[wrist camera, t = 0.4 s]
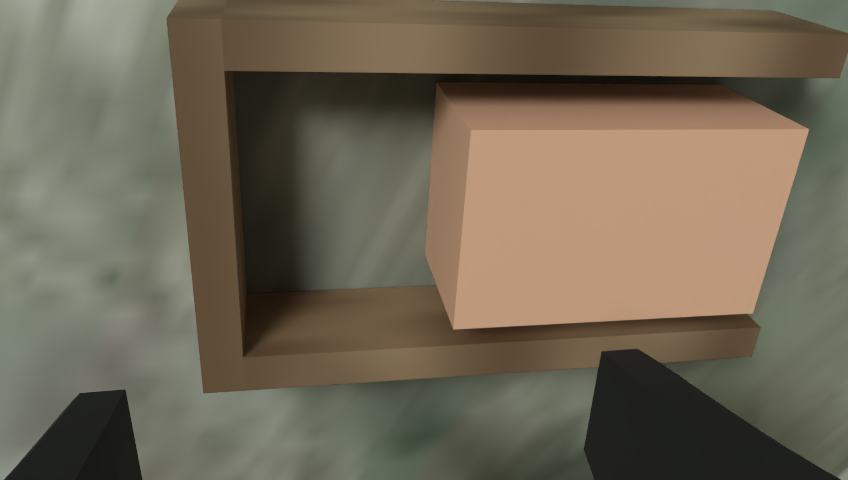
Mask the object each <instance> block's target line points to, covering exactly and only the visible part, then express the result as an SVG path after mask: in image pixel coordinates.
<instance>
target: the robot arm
mask: <svg viewBox="0 0 848 480" xmlns="http://www.w3.org/2000/svg"><path fill="white" fill-rule="evenodd" d="M584 451H585V454H586V457H587V460H588V462H589V465H590V468H591V471H592V474H593V477H594V480H840V479H839V478H837V477H835V476H833V475H832V474H830V473H828V472H826V471H825V470H823V469H821V468H820V467H818V466H816V465H815V464H813V463H811V462H810V461H808V460H806V459H805V458H803V457H801V456H800V455H798V454H796V453H795V452H793V451H791V450H790V449H788V448H786V447H785V446H783V445H781V444H780V443H778V442H777V441H775V440H774V439H772V438H771V437H769V436H767V435H766V434H764V433H763V432H761V431H760V430H758V429H757V428H755V427H753V426H752V425H750V424H749V423H747V422H746V421H744V420H743V419H741V418H740V417H738V416H737V415H735V414H734V413H732V412H731V411H729V410H728V409H726V408H725V407H724V406H722V405H721V404H719V403H718V402H716V401H715V400H713V399H712V398H710V397H709V396H707V395H706V394H705V393H703V392H702V391H700V390H699V389H697V388H696V387H694V386H693V385H692V384H690V383H689V382H687V381H686V380H684V379H683V378H681V377H680V376H679V375H677V374H676V373H674V372H673V371H671V370H670V369H668V368H667V367H665V366H664V365H662V364H661V363H659V362H658V361H656V360H655V359H653V358H652V357H650V356H649V355H647V354H645V353H644V352H642V351H641V350H639V349H625V350H613V351H601V357H600V362H599V368H598V374H597V379H596V385H595V390H594V396H593V402H592V407H591V413H590V418H589V424H588V430H587V435H586V441H585V446H584ZM4 480H142V476H141V470H140V465H139V460H138V454H137V449H136V444H135V438H134V433H133V428H132V422H131V417H130V412H129V406H128V401H127V396H126V390H114V391H102V392H89V393H80V394H79V395H78V396H77V397H76V398H75V399H74V400H73V401H72V402H71V403H70V404H69V405H68V407H67V408H66V409H65V410H64V411H63V412H62V414H61V415H60V416H59V417H58V418H57V419H56V421H55V422H54V423H53V424H52V425H51V427H50V428H49V429H48V430H47V431H46V432H45V434H44V435H43V436H42V437H41V438H40V439H39V441H38V442H37V443H36V444H35V445H34V446H33V448H32V449H31V450H30V451H29V452H28V453H27V454H26V456H25V457H24V458H23V459H22V460H21V461H20V463H19V464H18V465H17V466H16V467H15V468H14V469H13V470H12V472H11V473H10V474H9V475H8V476H7V477H6V478H5V479H4Z"/></svg>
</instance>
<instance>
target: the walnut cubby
mask: <svg viewBox="0 0 848 480" xmlns="http://www.w3.org/2000/svg"><path fill="white" fill-rule="evenodd" d="M167 27H168V37H169V47H170V57H171V67H172V78H173V88H174V98H175V108H176V118H177V129H178V139H179V149H180V159H181V169H182V180H183V190H184V200H185V210H186V220H187V231H188V241H189V251H190V261H191V271H192V282H193V292H194V302H195V312H196V322H197V333H198V343H199V353H200V363H201V373H202V384H203V393H215V392H230V391H245V390H260V389H275V388H290V387H305V386H320V385H335V384H350V383H365V382H380V381H395V380H410V379H426V378H441V377H456V376H471V375H486V374H501V373H516V372H531V371H546V370H561V369H576V368H591V367H599V362H600V357H601V351H613V350H625V349H639V350H641V351H642V352H644V353H645V354H647V355H649V356H650V357H652V358H653V359H655V360H656V361H658V362H659V363H666V362H681V361H696V360H711V359H726V358H741V357H751V356H752V353H753V350H754V347H755V343H756V340H757V337H758V334H759V331H760V328H761V327H760V326H759V325H758V324H757V323H755V322H754V321H753V320H752V319H751V318H750V317H749V316H748V315H747V314H731V315H713V316H694V317H676V318H657V319H639V320H620V321H602V322H583V323H565V324H546V325H528V326H509V327H491V328H472V329H454V330H453V328H452V325H451V322H450V320H449V317H448V314H447V312H446V309H445V306H444V304H443V301H442V298H441V296H440V293H439V290H438V288H437V285H435V286H412V287H389V288H365V289H342V290H318V291H295V292H271V293H248V294H247V286H246V270H245V253H244V236H243V219H242V203H241V186H240V169H239V153H238V136H237V119H236V102H235V86H234V71H280V72H363V73H446V74H529V75H613V76H696V77H779V78H840V75H841V72H842V69H843V66H844V63H845V60H846V56H847V53H848V33H845V32H842V31H839V30H835V29H832V28H829V27H826V26H822V25H819V24H816V23H813V22H809V21H806V20H803V19H800V18H796V17H793V16H790V15H787V14H783V13H780V12H777V11H758V10H726V9H693V8H661V7H628V6H596V5H563V4H531V3H499V2H466V1H434V0H178V2H177V3H176V5H175V6H174V8H173V9H172V11H171V12H170V14H169V15H168V17H167Z"/></svg>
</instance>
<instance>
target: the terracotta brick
mask: <svg viewBox="0 0 848 480" xmlns="http://www.w3.org/2000/svg"><path fill="white" fill-rule="evenodd" d="M808 132H809V129H808V128H806V127H804V126H802V125H800V124H798V123H796V122H794V121H792V120H790V119H788V118H786V117H784V116H782V115H780V114H778V113H776V112H774V111H772V110H770V109H768V108H766V107H764V106H762V105H760V104H758V103H756V102H755V101H753V100H751V99H749V98H747V97H745V96H743V95H741V94H739V93H737V92H735V91H733V90H731V89H729V88H727V87H725V86H723V85H689V84H571V83H453V82H436V97H435V113H434V128H433V143H432V159H431V174H430V189H429V205H428V220H427V235H426V251H425V256H426V259H427V261H428V264H429V267H430V269H431V272H432V275H433V277H434V280H435V283H436V285H437V288H438V290H439V293H440V296H441V298H442V301H443V304H444V306H445V309H446V312H447V314H448V317H449V320H450V322H451V325H452V328H453V330H454V329H472V328H491V327H509V326H528V325H546V324H565V323H583V322H602V321H620V320H639V319H657V318H676V317H694V316H713V315H731V314H749V313H753V311H754V308H755V305H756V302H757V298H758V295H759V292H760V288H761V285H762V282H763V279H764V275H765V272H766V269H767V266H768V262H769V259H770V256H771V253H772V249H773V246H774V243H775V239H776V236H777V233H778V230H779V226H780V223H781V220H782V217H783V213H784V210H785V207H786V203H787V200H788V197H789V194H790V190H791V187H792V184H793V181H794V177H795V174H796V171H797V167H798V164H799V161H800V158H801V154H802V151H803V148H804V145H805V141H806V138H807V135H808Z"/></svg>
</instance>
